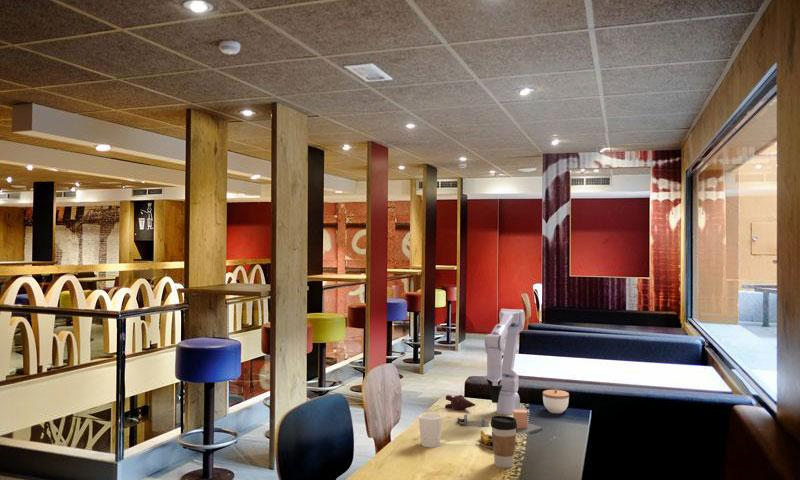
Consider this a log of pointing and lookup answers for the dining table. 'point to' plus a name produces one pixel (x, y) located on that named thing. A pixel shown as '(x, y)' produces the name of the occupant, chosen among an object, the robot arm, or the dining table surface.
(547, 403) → the lidded jar
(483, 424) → the vise
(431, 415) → the white cup
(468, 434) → the dining table surface
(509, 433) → the coffee cup
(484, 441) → the toy sandwich meal
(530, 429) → the mat
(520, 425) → the block
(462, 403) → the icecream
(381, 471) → the dining table surface
